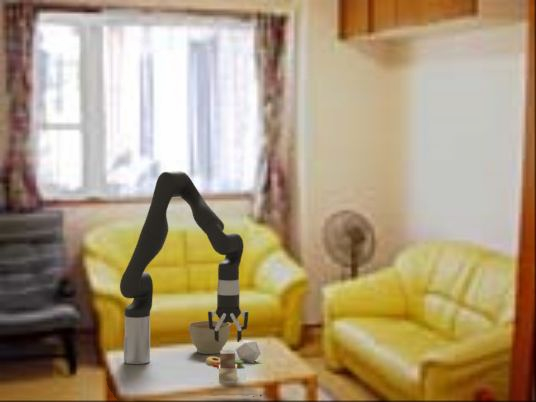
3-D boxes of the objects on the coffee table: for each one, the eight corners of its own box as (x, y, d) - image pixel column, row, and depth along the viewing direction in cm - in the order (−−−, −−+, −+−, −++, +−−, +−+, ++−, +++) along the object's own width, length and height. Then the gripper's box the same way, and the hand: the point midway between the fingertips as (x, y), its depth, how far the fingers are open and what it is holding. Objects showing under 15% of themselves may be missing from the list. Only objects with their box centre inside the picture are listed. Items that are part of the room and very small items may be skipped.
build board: (209, 385, 283) (209, 382, 283) (210, 376, 295) (210, 373, 295) (245, 385, 283) (245, 382, 283) (245, 376, 295) (245, 373, 295)
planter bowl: (238, 351, 332) (238, 324, 331) (208, 358, 320) (208, 330, 320) (210, 345, 343) (210, 318, 343) (180, 351, 331) (180, 324, 331)
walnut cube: (220, 368, 286) (220, 353, 286) (220, 364, 291) (220, 350, 291) (235, 368, 286) (235, 353, 286) (235, 364, 291) (235, 350, 291)
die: (264, 362, 318) (255, 339, 322) (262, 355, 310) (252, 332, 315) (243, 370, 317) (234, 347, 322) (241, 364, 310) (232, 340, 314)
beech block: (218, 380, 286) (218, 368, 286) (219, 375, 292) (219, 364, 292) (236, 380, 286) (236, 368, 286) (236, 375, 292) (236, 364, 292)
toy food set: (203, 365, 312) (203, 356, 312) (237, 362, 317) (237, 353, 316) (214, 373, 299) (214, 364, 299) (249, 370, 304) (249, 361, 304)
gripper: (206, 294, 283) (206, 343, 284) (249, 294, 284) (249, 344, 285) (207, 290, 291) (207, 339, 292) (249, 290, 291) (249, 339, 292)
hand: (228, 341), depth 288 cm, fingers open, 6 cm apart
